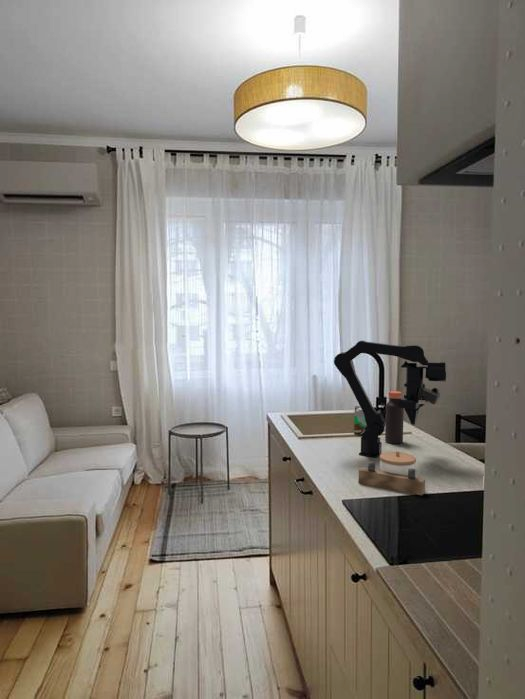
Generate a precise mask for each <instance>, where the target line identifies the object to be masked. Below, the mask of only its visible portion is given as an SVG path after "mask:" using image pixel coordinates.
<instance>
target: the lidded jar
mask: <svg viewBox="0 0 525 699" xmlns="http://www.w3.org/2000/svg"><path fill="white" fill-rule="evenodd" d="M416 462H417V457H416V456H414V455H412V454H410V453H408V452H400V451H399V450H396V451H385V452H382V453H381V454H380V455H379V469H380V471H385V472H389V473H395V474H402V475H407V476H408V469H409V468H412V469H415V470H416Z"/></svg>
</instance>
